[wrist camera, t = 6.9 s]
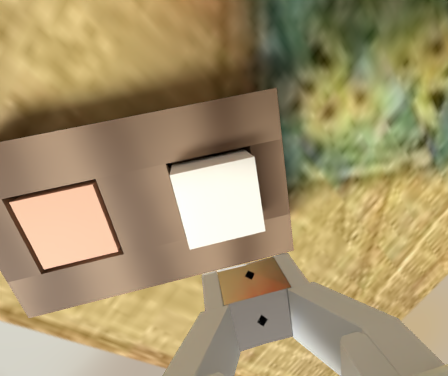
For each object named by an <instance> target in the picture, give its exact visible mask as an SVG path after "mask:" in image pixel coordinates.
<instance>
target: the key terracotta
mask: <svg viewBox="0 0 448 376" xmlns="http://www.w3.org/2000/svg"><path fill="white" fill-rule="evenodd" d="M9 204H10V205H11V207H12V209H13V211H14V213H15V215H16V217H17V219H18V221H19V223H20V225H21V226H22V228H23V230H24V232H25V234H26V236H27V238H28V240H29V242H30V244H31V246H32V248H33V249H34V251H35V253H36V255H37V257H38V259H39V261H40V263H41V265H42V267H43V269H48V268H52V267H56V266H61V265H65V264H69V263H73V262H77V261H81V260H85V259H90V258H94V257H98V256H102V255H106V254H110V253H115V252H118V251H119V249H120V247H121V245H120V242H119V239H118V237H117V234H116V231H115V229H114V226H113V224H112V221H111V218H110V216H109V213H108V210H107V208H106V205H105V202H104V200H103V197H102V195H101V192H100V189H99V187H98V184H97V181H96V179H93V180H88V181H84V182H79V183H74V184H70V185H65V186H60V187H56V188H51V189H46V190H42V191H37V192H32V193H28V194H24V195H22V196H20V197H18V198H17V199H15V200H13V201H11V202H9Z"/></svg>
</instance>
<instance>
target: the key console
mask: <svg viewBox="0 0 448 376" xmlns="http://www.w3.org/2000/svg"><path fill="white" fill-rule="evenodd" d="M242 149H244V150H246V151H247V152H248V153H250V154H251V155H253V156H254V157H255V164H256V170H257V177H258V184H259V191H260V198H261V205H262V211H263V218H264V225H265V231H264V232H260V233H256V234H252V235H248V236H244V237H240V238H236V239H232V240H227V241H223V242H219V243H215V244H211V245H207V246H203V247H199V248H195V249H191V250H190V249H189V245H188V241H187V238H186V234H185V230H184V227H183V223H182V219H181V216H180V212H179V208H178V205H177V201H176V197H175V194H174V190H173V186H172V182H171V179H170V171H171V167H172V165H173V164H177V163H182V162H187V161H191V160H196V159H201V158H205V157H210V156H215V155H219V154H224V153H228V152H233V151H238V150H242ZM93 179H96V181H97V184H98V187H99V189H100V192H101V195H102V197H103V200H104V202H105V205H106V208H107V210H108V213H109V216H110V218H111V221H112V224H113V226H114V229H115V231H116V234H117V237H118V239H119V242H120V245H121V247H120V249H119V251H118V252H115V253H110V254H106V255H102V256H98V257H94V258H90V259H85V260H81V261H77V262H73V263H69V264H65V265H61V266H56V267H52V268H48V269H43V267H42V265H41V263H40V261H39V259H38V257H37V255H36V253H35V251H34V249H33V248H32V246H31V244H30V242H29V240H28V238H27V236H26V234H25V232H24V230H23V228H22V226H21V225H20V223H19V221H18V219H17V217H16V215H15V213H14V211H13V209H12V207H11V205H10V204H9V202H11V201H13V200H15V199H17V198H18V197H20V196H22V195H24V194H28V193H32V192H37V191H42V190H46V189H51V188H56V187H60V186H65V185H70V184H74V183H79V182H84V181H88V180H93ZM293 250H294V248H293V239H292V229H291V220H290V210H289V201H288V191H287V182H286V172H285V163H284V153H283V144H282V134H281V125H280V115H279V106H278V96H277V88H272V89H267V90H262V91H257V92H252V93H247V94H242V95H237V96H232V97H227V98H222V99H216V100H211V101H206V102H201V103H196V104H191V105H186V106H181V107H176V108H171V109H166V110H160V111H155V112H150V113H145V114H140V115H135V116H130V117H125V118H120V119H115V120H110V121H104V122H99V123H94V124H89V125H84V126H79V127H74V128H69V129H64V130H59V131H54V132H49V133H43V134H38V135H33V136H28V137H23V138H18V139H13V140H8V141H3V142H0V271H1V272H2V274H3V276H4V277H5V279H6V281H7V282H8V284H9V286H10V288H11V289H12V291H13V293H14V294H15V296H16V298H17V299H18V301H19V303H20V304H21V306H22V308H23V309H24V311H25V313H26V314H27V316H28V318H31V317H35V316H39V315H43V314H47V313H51V312H55V311H59V310H63V309H66V308H70V307H74V306H78V305H82V304H86V303H90V302H94V301H98V300H102V299H106V298H109V297H113V296H117V295H121V294H125V293H129V292H133V291H137V290H141V289H145V288H148V287H152V286H156V285H160V284H164V283H168V282H172V281H176V280H180V279H184V278H188V277H191V276H195V275H199V274H203V273H207V272H211V271H215V270H219V269H223V268H227V267H231V266H234V265H238V264H242V263H246V262H250V261H254V260H258V259H262V258H266V257H270V256H274V255H277V254H281V253H285V252H289V251H293Z"/></svg>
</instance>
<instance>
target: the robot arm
mask: <svg viewBox="0 0 448 376" xmlns="http://www.w3.org/2000/svg"><path fill="white" fill-rule="evenodd" d="M202 284H203V294H204V304H205V311H204V312H201V313H200V314H199V316H198V318H197V319H196V321H195V323H194V324H193V326H192V328H191V329H190V331H189V333H188V334H187V336H186V337H185V339H184V341H183V342H182V344H181V346H180V347H179V349H178V351H177V352H176V354H175V356H174V357H173V359H172V361H171V362H170V364H169V366H168V367H167V369H166V371H165V372H164V374H163V376H234V374H235V370H236V367H237V363H238V360H239V356H240V352H241V351H244V350H247V349H250V348H253V347H256V346H259V345H262V344H265V343H269V342H273V341H277V340H281V339H285V338H289V337H293V338H294V339H296V340H297V341H298V342H299V343H300V344H302V345H303V346H304V347H305V348H307V349H308V350H309V351H310V352H312V353H313V354H314V355H315V356H317V357H318V358H319V359H320V360H321V361H323V362H324V363H325V364H326V365H328V366H329V367H330V368H331V369H333V370H334V371H335V372H336V373H338V374H339V375H340V376H448V364H446V365H445V364H444V363H443V362H442V361H441V360H440V359H439V358H438V357H437V356H435V354H434V353H432V352H431V350H429V349H428V347H426V346H425V345H424V344H423V343H422V342H421V341H420V340H419V339H418V338H417V337H416V336H415V335H414V334H413V333H412V332H411V331H410V330H409V329H408V328H407V327H406V326H405V325H404V324H403V323H402V322H401V321H400V320H399V319H398V318H396V317H393V316H391V315H389V314H387V313H384V312H382V311H380V310H377V309H375V308H373V307H371V306H368V305H366V304H364V303H361V302H359V301H357V300H354V299H352V298H350V297H348V296H345V295H343V294H341V293H338V292H336V291H334V290H332V289H329V288H327V287H325V286H322V285H320V284H318V283H316V282H311V283H309V282H308V280H307V279H306V277H305V276H304V275H303V273H302V272H301V271H300V269H299V268H298V266H297V265H296V264H295V262H294V261H293V259H292V258H291V257H290V255H289V254H288V253H282V254H279V255H275V256H272V257H270V258H266V259H262V260H259V261H255V262H251V263H247V264H242V265H238V266H234V267H229V268H225V269H221V270H217V271H213V272H209V273H205V274H202Z"/></svg>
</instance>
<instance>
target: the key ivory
mask: <svg viewBox="0 0 448 376" xmlns="http://www.w3.org/2000/svg"><path fill="white" fill-rule="evenodd" d="M170 179H171V182H172V186H173V190H174V194H175V197H176V201H177V205H178V208H179V212H180V216H181V219H182V223H183V227H184V230H185V234H186V238H187V241H188V245H189V249H190V250H191V249H195V248H199V247H203V246H207V245H211V244H215V243H219V242H223V241H227V240H232V239H236V238H240V237H244V236H248V235H252V234H256V233H260V232H264V231H265V225H264V218H263V211H262V205H261V198H260V191H259V184H258V177H257V170H256V164H255V157H254V156H253V155H251V154H250V153H248V152H247V151H246V150H244V149H242V150H238V151H233V152H228V153H224V154H219V155H215V156H210V157H205V158H201V159H196V160H191V161H187V162H182V163H177V164H173V165H172V167H171V171H170Z"/></svg>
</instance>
